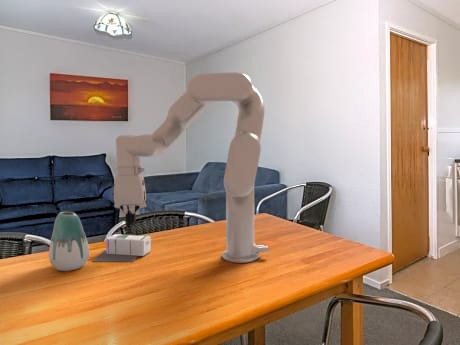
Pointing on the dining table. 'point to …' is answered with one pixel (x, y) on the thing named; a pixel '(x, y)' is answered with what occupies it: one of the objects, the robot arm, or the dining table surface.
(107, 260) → the mat
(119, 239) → the syrup box
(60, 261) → the vase
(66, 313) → the dining table surface
